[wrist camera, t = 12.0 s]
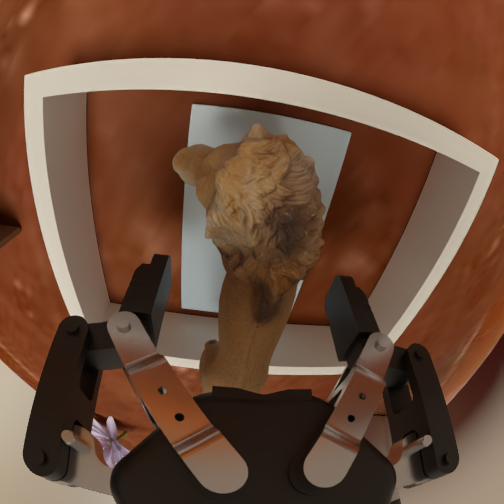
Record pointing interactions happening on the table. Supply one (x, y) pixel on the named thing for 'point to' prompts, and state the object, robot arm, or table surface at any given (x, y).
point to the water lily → (109, 441)
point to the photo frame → (7, 233)
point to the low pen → (194, 214)
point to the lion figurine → (254, 245)
